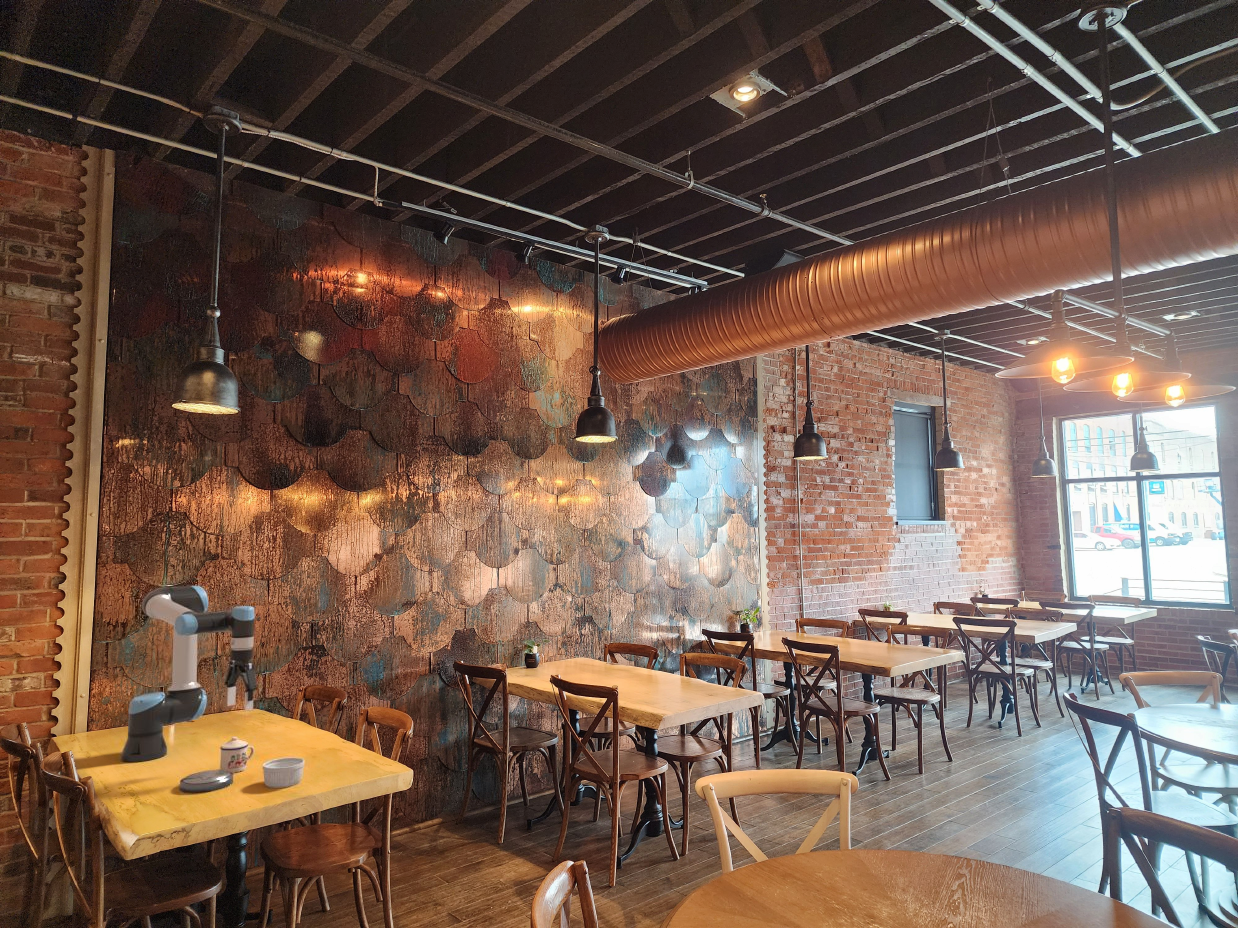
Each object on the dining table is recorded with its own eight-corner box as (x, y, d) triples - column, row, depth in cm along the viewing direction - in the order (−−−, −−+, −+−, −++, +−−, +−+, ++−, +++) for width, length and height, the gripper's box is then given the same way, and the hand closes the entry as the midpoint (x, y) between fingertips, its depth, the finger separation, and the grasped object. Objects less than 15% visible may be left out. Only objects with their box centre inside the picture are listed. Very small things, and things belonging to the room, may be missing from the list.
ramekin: (292, 774, 268) (293, 754, 268) (311, 782, 259) (312, 761, 260) (254, 784, 257) (255, 763, 258) (273, 792, 249) (274, 770, 250)
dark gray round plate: (171, 786, 255) (171, 777, 256) (220, 774, 268) (220, 766, 268) (192, 796, 245) (192, 786, 246) (241, 783, 258) (241, 774, 258)
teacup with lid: (227, 775, 267) (228, 741, 268) (214, 771, 272) (215, 738, 273) (259, 766, 277) (261, 734, 278) (246, 762, 282) (247, 731, 283)
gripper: (216, 647, 283) (213, 704, 281) (248, 652, 268) (245, 713, 266) (236, 644, 289) (234, 701, 287) (268, 650, 274) (266, 709, 272)
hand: (239, 707), depth 277 cm, fingers open, 13 cm apart
